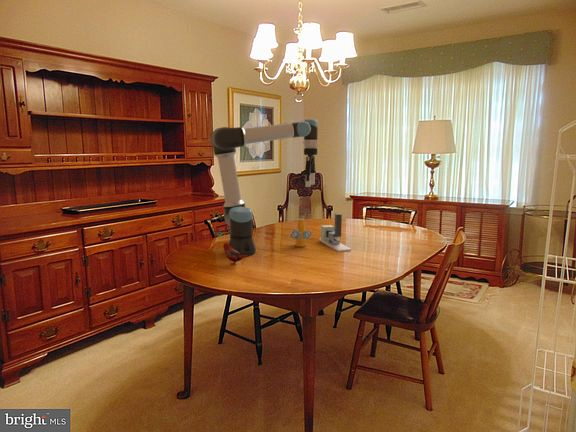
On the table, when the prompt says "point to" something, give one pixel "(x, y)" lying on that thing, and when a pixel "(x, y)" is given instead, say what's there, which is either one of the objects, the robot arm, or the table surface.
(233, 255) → the decorative bird figurine
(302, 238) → the orange grey upright piece
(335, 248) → the base plate
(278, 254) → the table surface
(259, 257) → the table surface
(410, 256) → the table surface
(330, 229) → the socket block
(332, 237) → the outer sleeve
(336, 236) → the grey upright bracket
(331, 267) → the table surface
